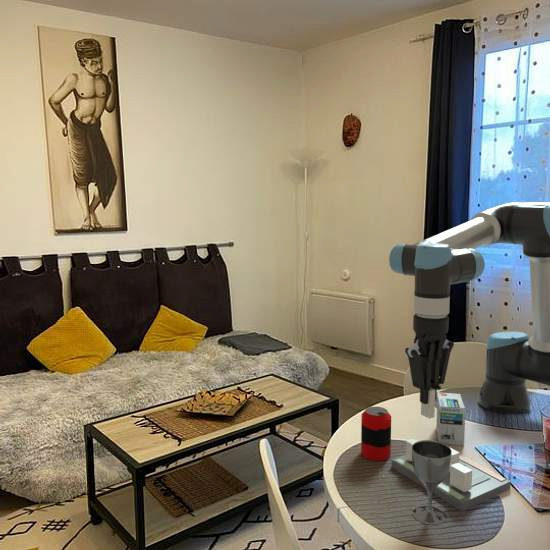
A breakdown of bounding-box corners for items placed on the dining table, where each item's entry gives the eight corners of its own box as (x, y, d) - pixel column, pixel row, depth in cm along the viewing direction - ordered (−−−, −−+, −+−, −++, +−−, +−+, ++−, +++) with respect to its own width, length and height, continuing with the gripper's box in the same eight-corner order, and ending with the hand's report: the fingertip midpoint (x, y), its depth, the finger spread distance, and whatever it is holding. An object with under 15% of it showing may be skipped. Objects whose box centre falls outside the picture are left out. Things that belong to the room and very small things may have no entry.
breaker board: (437, 450, 145) (437, 442, 144) (510, 489, 126) (510, 480, 126) (391, 466, 137) (391, 458, 136) (461, 511, 118) (462, 501, 118)
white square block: (445, 463, 133) (446, 445, 133) (458, 470, 130) (459, 452, 129) (438, 465, 132) (439, 448, 131) (451, 473, 129) (452, 455, 128)
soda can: (373, 464, 138) (373, 419, 136) (355, 451, 145) (355, 408, 143) (396, 457, 142) (397, 413, 140) (378, 445, 148) (379, 402, 146)
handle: (412, 455, 137) (413, 438, 137) (424, 462, 134) (425, 445, 133) (405, 458, 136) (406, 441, 135) (417, 464, 133) (418, 447, 132)
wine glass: (405, 505, 121) (406, 441, 118) (440, 502, 121) (442, 439, 119) (417, 527, 113) (419, 459, 110) (455, 524, 114) (457, 457, 111)
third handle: (457, 480, 125) (457, 462, 125) (471, 489, 122) (472, 470, 121) (449, 483, 124) (450, 465, 123) (463, 492, 121) (464, 473, 120)
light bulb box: (464, 446, 147) (466, 408, 145) (438, 444, 148) (439, 406, 146) (459, 428, 157) (461, 393, 155) (435, 427, 159) (436, 391, 157)
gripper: (439, 307, 127) (435, 404, 131) (396, 314, 121) (394, 416, 125) (465, 313, 121) (460, 415, 125) (422, 321, 114) (418, 428, 118)
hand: (427, 415), depth 125 cm, fingers closed
